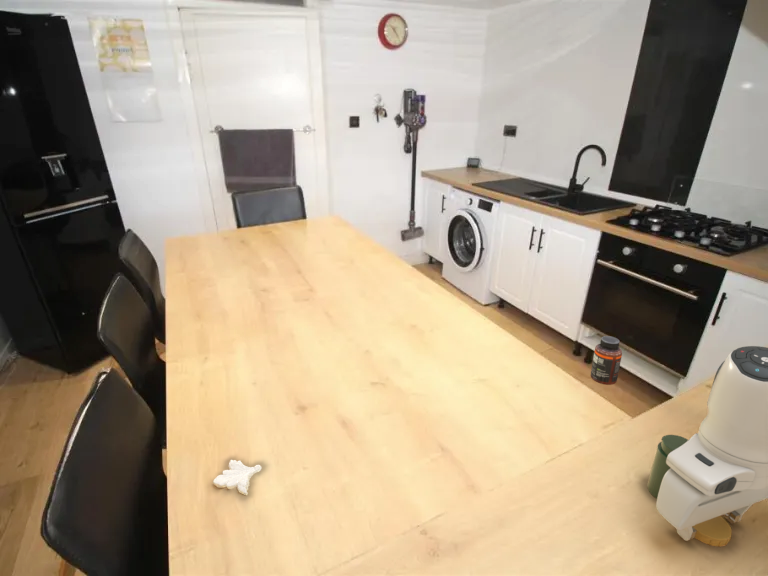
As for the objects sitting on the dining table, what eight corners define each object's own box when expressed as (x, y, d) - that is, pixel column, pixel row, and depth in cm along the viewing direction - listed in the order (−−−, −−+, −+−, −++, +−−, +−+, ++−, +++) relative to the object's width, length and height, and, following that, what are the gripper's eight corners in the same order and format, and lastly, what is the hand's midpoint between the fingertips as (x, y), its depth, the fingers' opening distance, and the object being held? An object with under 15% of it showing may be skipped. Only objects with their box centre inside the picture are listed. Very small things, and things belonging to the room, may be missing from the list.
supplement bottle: (615, 376, 104) (624, 336, 100) (617, 388, 99) (626, 347, 95) (589, 371, 106) (596, 332, 103) (589, 383, 101) (597, 342, 97)
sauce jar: (688, 493, 70) (703, 443, 67) (682, 513, 66) (698, 462, 63) (650, 476, 74) (663, 428, 70) (643, 494, 70) (656, 445, 66)
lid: (673, 510, 67) (676, 501, 66) (716, 516, 66) (719, 508, 65) (690, 544, 62) (693, 534, 61) (737, 552, 60) (741, 543, 60)
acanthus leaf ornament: (247, 498, 71) (245, 490, 71) (210, 494, 72) (208, 486, 72) (265, 465, 78) (263, 457, 78) (231, 462, 79) (229, 454, 78)
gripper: (759, 426, 64) (735, 494, 69) (658, 457, 59) (639, 527, 63) (809, 454, 58) (778, 525, 63) (701, 491, 53) (677, 565, 58)
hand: (708, 527), depth 63 cm, fingers open, 8 cm apart
